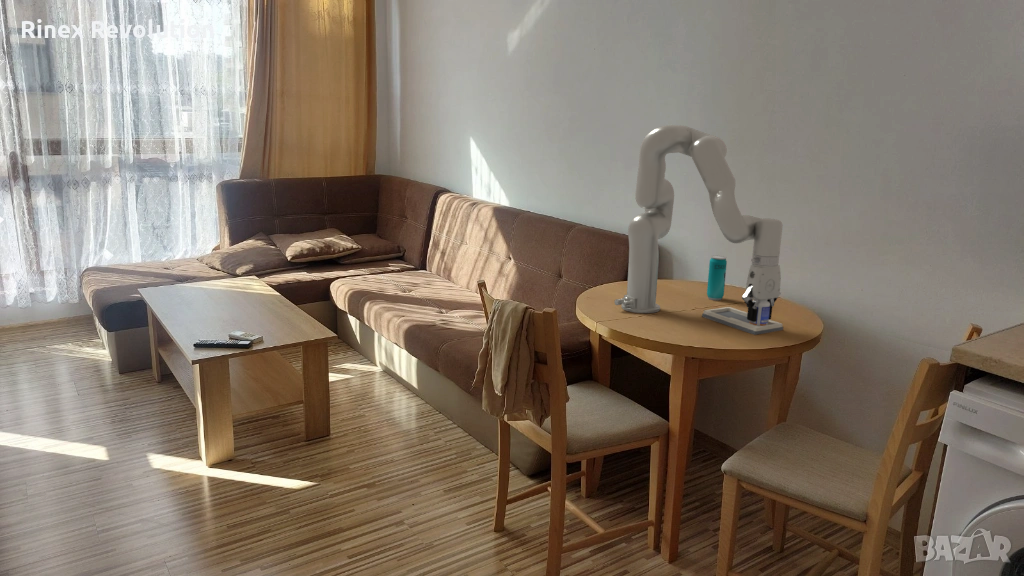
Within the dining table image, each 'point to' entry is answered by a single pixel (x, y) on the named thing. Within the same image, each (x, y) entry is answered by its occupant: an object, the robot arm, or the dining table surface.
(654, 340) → the dining table surface
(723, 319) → the grey flat rectangular tray
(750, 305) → the robot arm
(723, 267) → the beverage can
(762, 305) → the pill bottle
